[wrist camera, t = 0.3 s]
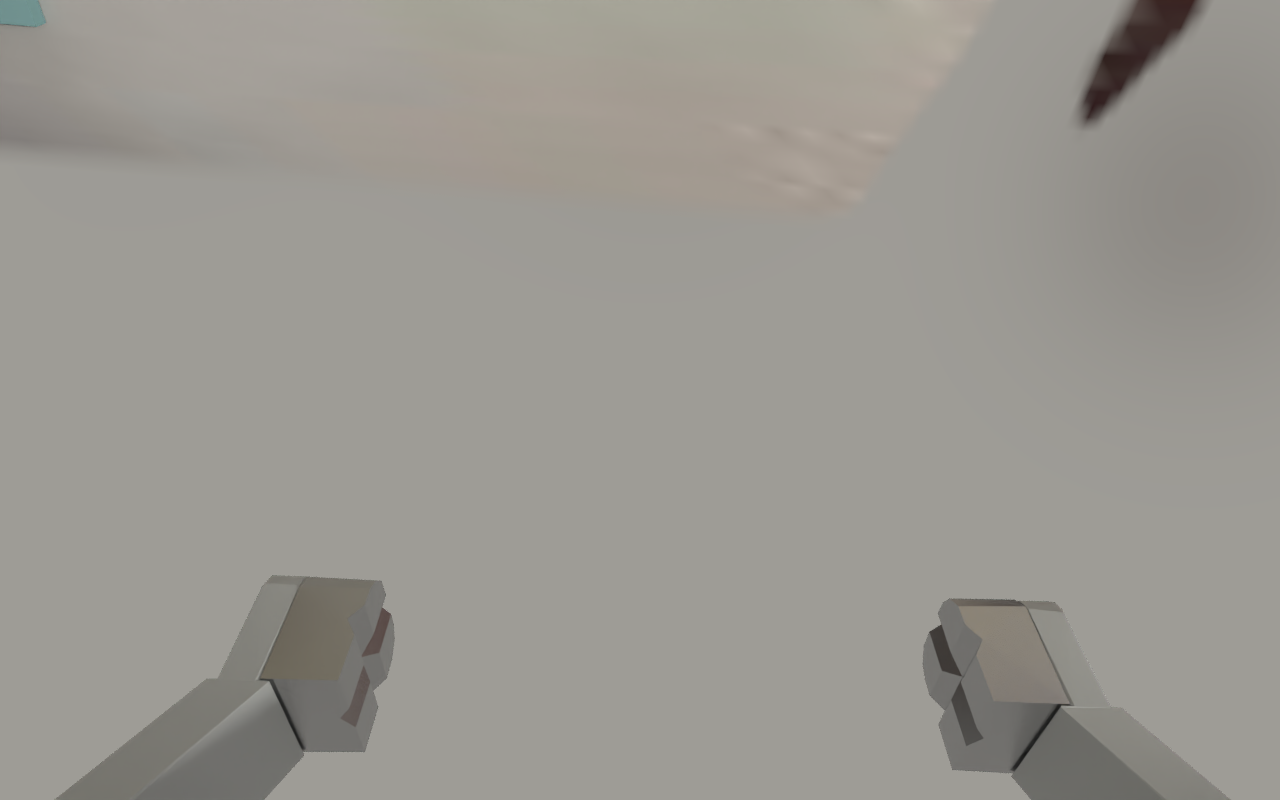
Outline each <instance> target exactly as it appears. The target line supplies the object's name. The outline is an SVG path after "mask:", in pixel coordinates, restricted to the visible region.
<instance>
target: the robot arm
mask: <svg viewBox="0 0 1280 800" xmlns="http://www.w3.org/2000/svg"><path fill="white" fill-rule="evenodd" d="M385 596H386V594H385V591H384V588H383V585H382V581H374V580H357V579H338V578H320V577H304V576H277V575H272V576H271V577H270V578H269V580H268V581H267V582H266V583H265V584H264V585H263V586H262V588H261V590H260V592H259V594H258V596H257V598H256V601H255V602H254V604H253V607H252V609H251V611H250V613H249V615H248V617H247V619H246V621H245V623H244V625H243V627H242V629H241V631H240V633H239V635H238V638H237V640H236V642H235V644H234V646H233V648H232V650H231V652H230V654H229V656H228V658H227V660H226V662H225V665H224V667H223V668H222V671H221V673H220V675H219V677H218V679H206V680H205V681H203V682H202V683H201V684H199V685H198V686H197V687H196V688H194V689H193V690H192V691H191V692H189V693H188V694H187V695H186V696H185V697H183V698H182V699H181V700H179V701H178V702H177V703H176V704H174V705H173V706H172V707H171V708H169V709H168V710H167V711H166V712H164V713H163V714H162V715H161V716H159V717H158V718H157V719H155V720H154V721H153V722H152V723H150V724H149V725H148V726H147V727H145V728H144V729H143V730H142V731H141V732H139V733H138V734H137V735H136V736H134V737H133V738H132V739H130V740H129V741H128V742H127V743H125V744H124V745H123V746H122V747H120V748H119V749H118V750H116V751H115V752H114V753H113V754H111V755H110V756H109V757H108V758H106V759H105V760H104V761H103V762H101V763H100V764H99V765H98V766H96V767H95V768H94V769H93V770H91V771H90V772H89V773H88V774H86V775H85V776H84V777H83V778H81V779H80V780H79V781H77V782H76V783H75V784H74V785H72V786H71V787H70V788H69V789H68V790H66V791H65V792H64V793H62V794H61V795H60V796H59V797H57V798H56V799H55V800H264V799H265V798H266V797H267V796H268V795H269V794H270V793H271V791H272V790H273V789H274V788H275V787H276V786H277V785H278V784H279V783H280V782H281V780H282V779H283V778H284V777H285V776H286V775H287V773H289V772H290V771H291V769H292V768H293V767H294V766H295V765H296V764H297V763H298V762H299V761H300V759H301V758H302V757H303V756H304V753H303V752H365V750H366V746H367V742H368V739H369V736H370V733H371V729H372V726H373V723H374V720H375V716H376V713H377V709H378V705H377V702H376V699H375V695H374V692H373V690H374V689H375V688H377V687H378V686H379V685H380V684H381V683H382V682H383V681H384V680H385V679H386V678H387V675H388V671H389V668H390V664H391V661H392V655H393V647H394V624H393V620H392V616H391V614H390V613H389V612H387V611H386V610H385V609H384V608H382V606H383V603H384V600H385ZM938 615H939V618H940V621H941V625H940V626H938V627H936V628H935V629H933V630H932V631H930V632H929V634H928V637H927V639H926V642H925V644H924V652H923V669H924V675H925V681H926V684H927V688H928V691H929V695H930V696H931V697H932V698H933V699H934V700H935V701H936V702H937V703H938V704H939V705H940V706H941V707H942V708H943V709H944V710H945V711H944V714H943V716H942V718H941V720H940V722H939V728H940V731H941V734H942V738H943V740H944V744H945V747H946V750H947V754H948V757H949V760H950V764H951V766H952V770H965V771H983V772H1000V773H1013V775H1012V778H1013V779H1014V780H1015V781H1016V782H1017V783H1018V785H1019V786H1020V787H1021V788H1022V789H1023V790H1024V792H1025V793H1026V794H1027V795H1028V796H1029V798H1030V799H1031V800H1231V799H1229V798H1228V797H1227V796H1226V795H1225V794H1223V793H1222V792H1221V791H1220V790H1219V789H1217V788H1216V787H1215V786H1214V785H1213V784H1212V783H1210V782H1209V781H1208V780H1207V779H1206V778H1204V777H1203V776H1202V775H1201V774H1200V773H1199V772H1197V771H1196V770H1195V769H1194V768H1193V767H1191V766H1190V765H1189V764H1188V763H1187V762H1185V761H1184V760H1183V759H1182V758H1181V757H1179V756H1178V755H1177V754H1176V753H1175V752H1174V751H1172V750H1171V749H1170V748H1169V747H1168V746H1166V745H1165V744H1164V743H1163V742H1162V741H1160V740H1159V739H1158V738H1157V737H1156V736H1155V735H1153V734H1152V733H1151V732H1150V731H1149V730H1147V729H1146V728H1145V727H1144V726H1142V724H1140V723H1139V722H1138V721H1137V720H1135V719H1134V718H1133V717H1132V716H1131V715H1130V714H1128V713H1127V712H1126V711H1125V710H1124V709H1123V708H1117V707H1111V706H1110V704H1109V702H1108V700H1107V698H1106V696H1105V694H1104V692H1103V690H1102V688H1101V686H1100V684H1099V682H1098V680H1097V678H1096V676H1095V674H1094V672H1093V670H1092V668H1091V666H1090V664H1089V662H1088V661H1087V658H1086V656H1085V654H1084V652H1083V650H1082V648H1081V646H1080V644H1079V642H1078V640H1077V638H1076V636H1075V634H1074V632H1073V630H1072V628H1071V626H1070V624H1069V622H1068V620H1067V618H1066V616H1065V614H1064V612H1063V610H1062V609H1061V608H1060V607H1059V606H1058V605H1057V604H1056V603H1055V602H1048V601H1016V600H1003V599H948V600H947V601H945V602H943V604H942V606H941V608H940V610H939V612H938Z"/></svg>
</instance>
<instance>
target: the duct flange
mask: <svg viewBox="0 0 1280 800" xmlns="http://www.w3.org/2000/svg"><path fill="white" fill-rule="evenodd" d="M44 23H46V21H45V18H44V16H43V13H42V10H41V8H40V5H39V2H38V0H0V24H10V25H22V26H34V27H37V26H40V25H42V24H44Z"/></svg>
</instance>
